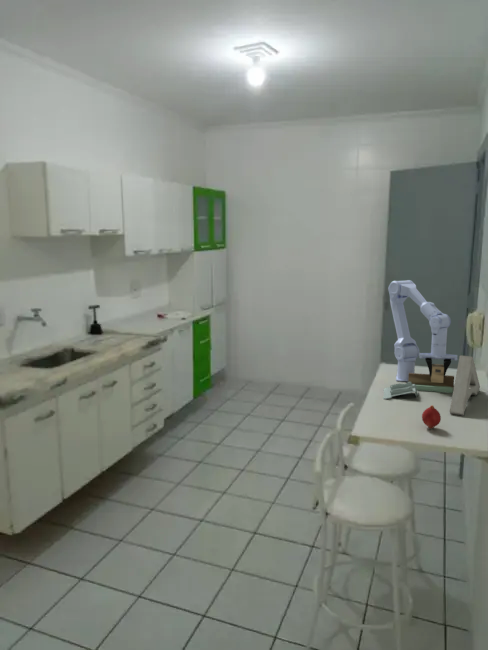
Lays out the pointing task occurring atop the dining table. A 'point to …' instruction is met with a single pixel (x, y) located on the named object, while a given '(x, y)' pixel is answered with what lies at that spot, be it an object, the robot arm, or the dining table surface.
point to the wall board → (426, 380)
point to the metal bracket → (399, 390)
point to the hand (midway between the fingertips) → (437, 376)
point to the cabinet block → (437, 373)
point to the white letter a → (464, 385)
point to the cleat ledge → (434, 388)
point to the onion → (431, 417)
